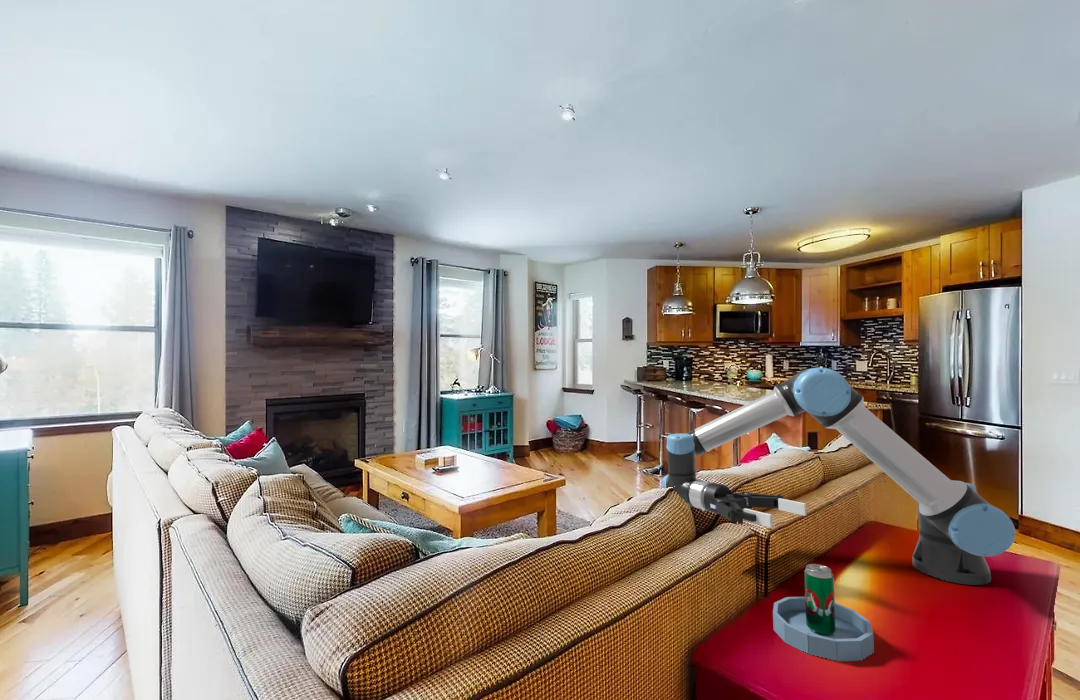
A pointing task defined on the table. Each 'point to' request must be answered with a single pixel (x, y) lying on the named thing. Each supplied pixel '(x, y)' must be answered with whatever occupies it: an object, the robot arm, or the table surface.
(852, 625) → the bowl
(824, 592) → the soda can
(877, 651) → the table surface
